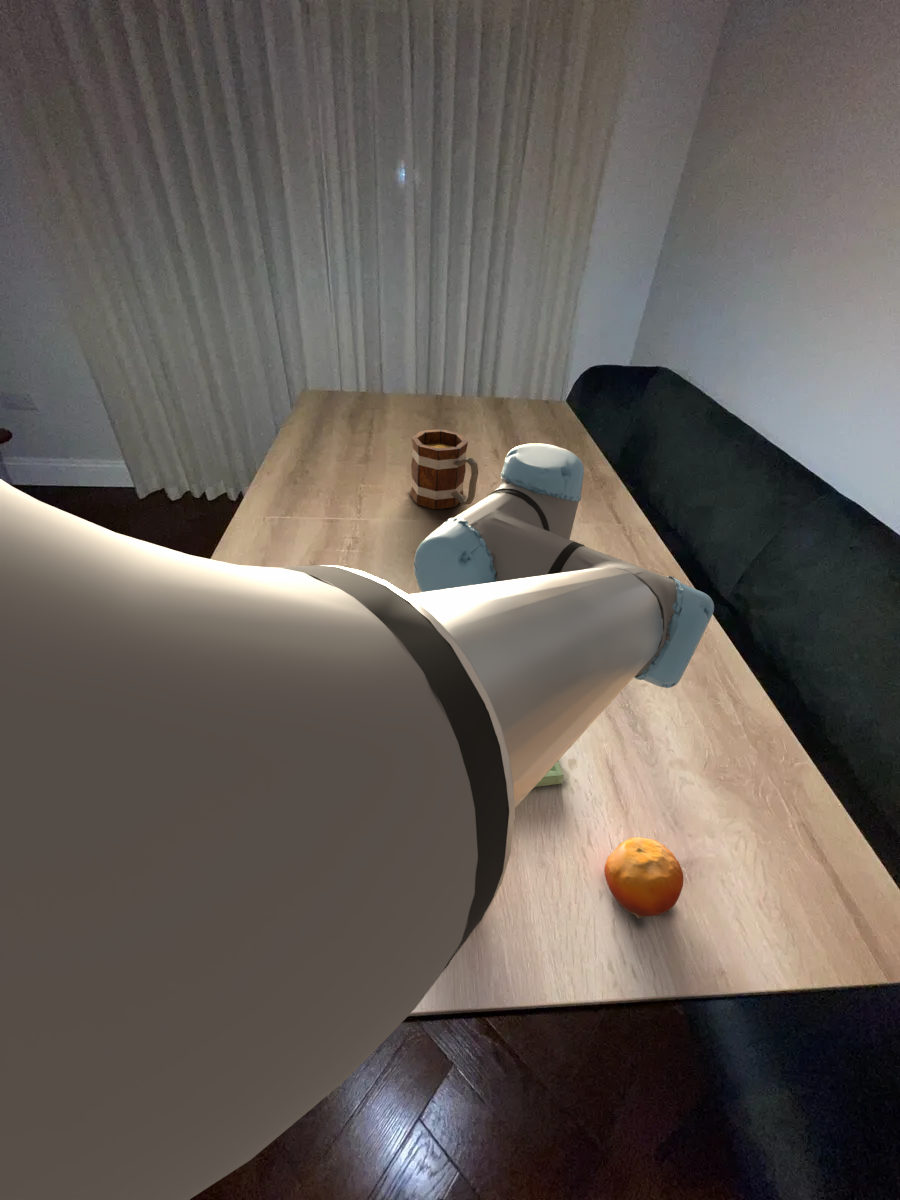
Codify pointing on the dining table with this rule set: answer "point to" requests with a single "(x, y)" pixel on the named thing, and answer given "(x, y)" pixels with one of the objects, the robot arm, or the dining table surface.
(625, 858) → the fruit
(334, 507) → the dining table surface
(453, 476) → the mug
